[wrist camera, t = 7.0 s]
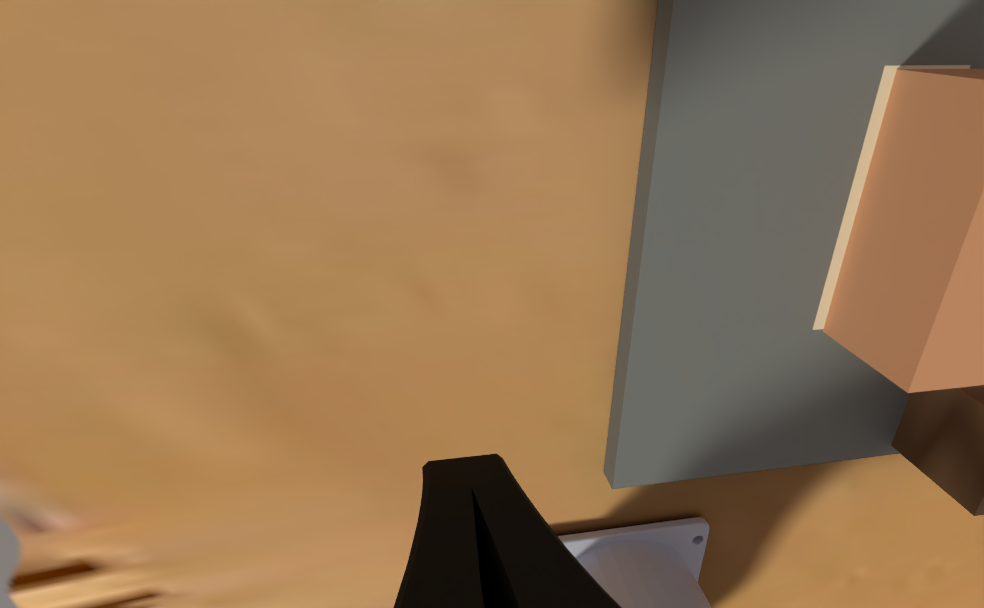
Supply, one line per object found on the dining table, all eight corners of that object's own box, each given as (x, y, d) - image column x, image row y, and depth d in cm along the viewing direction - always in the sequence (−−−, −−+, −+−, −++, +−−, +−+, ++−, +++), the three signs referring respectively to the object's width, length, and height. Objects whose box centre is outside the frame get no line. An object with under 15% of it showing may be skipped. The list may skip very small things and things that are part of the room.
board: (962, 429, 28) (981, 443, 27) (603, 471, 25) (612, 489, 24) (1157, -22, 20) (1194, -24, 19) (661, -33, 17) (678, -35, 16)
